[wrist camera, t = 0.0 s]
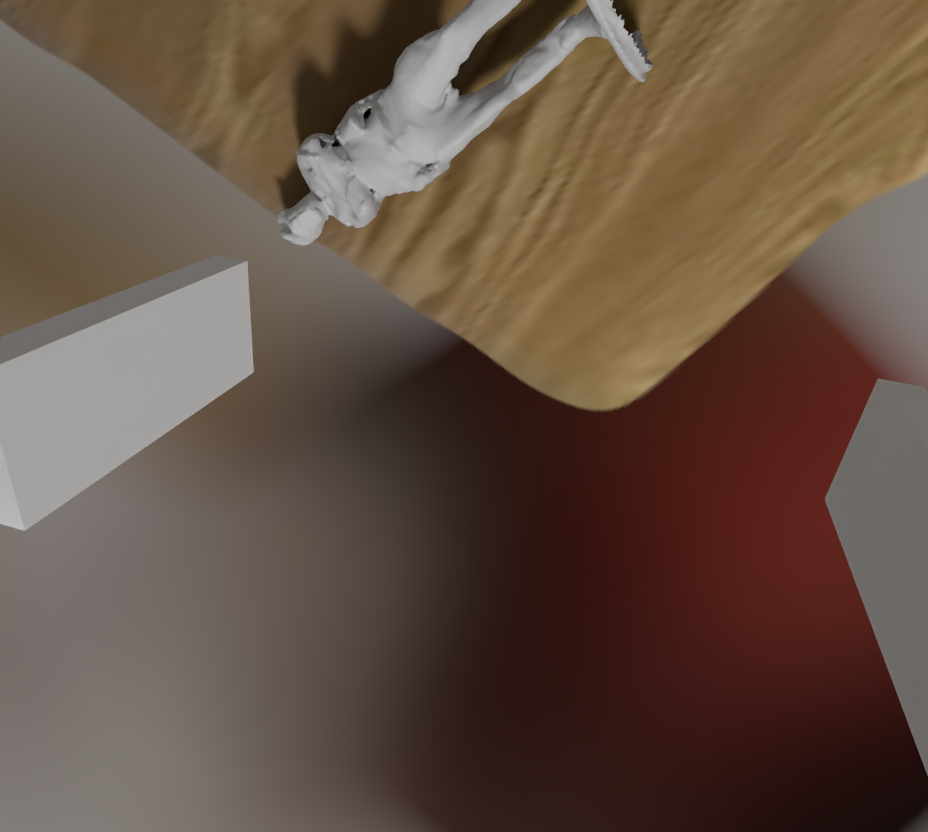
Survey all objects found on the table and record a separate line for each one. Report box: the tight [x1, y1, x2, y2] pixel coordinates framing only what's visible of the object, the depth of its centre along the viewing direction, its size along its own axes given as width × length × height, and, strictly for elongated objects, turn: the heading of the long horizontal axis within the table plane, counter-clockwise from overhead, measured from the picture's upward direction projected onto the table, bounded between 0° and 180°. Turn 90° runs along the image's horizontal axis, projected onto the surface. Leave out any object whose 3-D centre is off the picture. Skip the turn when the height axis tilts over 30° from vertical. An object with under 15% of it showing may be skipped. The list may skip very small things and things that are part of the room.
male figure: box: [277, 0, 654, 245], centre depth 35 cm, size 11×10×25 cm
